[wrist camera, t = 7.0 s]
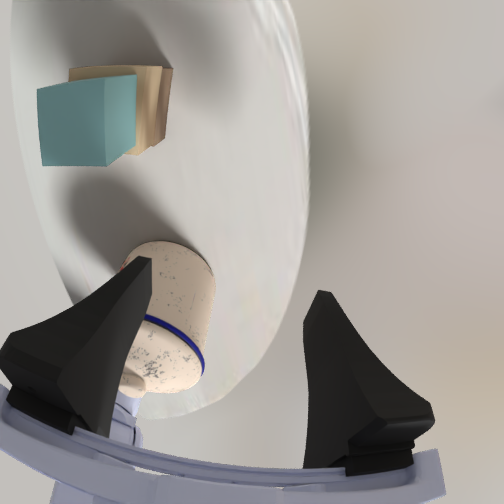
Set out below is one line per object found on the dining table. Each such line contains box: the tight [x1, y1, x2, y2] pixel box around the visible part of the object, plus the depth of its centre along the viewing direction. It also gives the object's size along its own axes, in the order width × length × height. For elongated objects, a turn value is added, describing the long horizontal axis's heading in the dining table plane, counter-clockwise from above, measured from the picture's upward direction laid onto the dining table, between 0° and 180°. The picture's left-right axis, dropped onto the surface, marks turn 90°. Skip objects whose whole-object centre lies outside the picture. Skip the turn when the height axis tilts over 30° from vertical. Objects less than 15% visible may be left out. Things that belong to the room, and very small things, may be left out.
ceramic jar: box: [118, 241, 216, 398], centre depth 22 cm, size 12×9×12 cm
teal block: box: [37, 75, 137, 166], centre depth 12 cm, size 4×4×4 cm
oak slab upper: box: [68, 65, 162, 155], centre depth 14 cm, size 5×5×2 cm
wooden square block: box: [151, 68, 173, 146], centre depth 17 cm, size 5×5×2 cm
